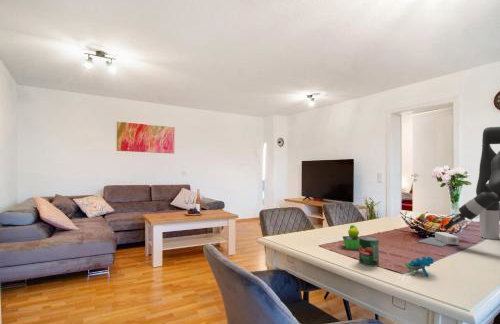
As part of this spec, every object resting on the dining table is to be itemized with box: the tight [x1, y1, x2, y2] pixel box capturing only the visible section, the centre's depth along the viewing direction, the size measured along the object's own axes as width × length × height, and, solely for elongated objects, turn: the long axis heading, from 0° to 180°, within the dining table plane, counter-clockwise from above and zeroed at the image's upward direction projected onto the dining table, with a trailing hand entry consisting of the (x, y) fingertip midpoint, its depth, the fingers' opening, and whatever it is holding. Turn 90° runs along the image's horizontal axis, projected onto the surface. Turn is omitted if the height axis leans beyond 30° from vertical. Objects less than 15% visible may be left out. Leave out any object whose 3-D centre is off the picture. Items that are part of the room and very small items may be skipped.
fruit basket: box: [341, 224, 360, 251], centre depth 143 cm, size 11×9×11 cm
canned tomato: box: [358, 235, 380, 267], centre depth 119 cm, size 8×8×11 cm
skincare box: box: [434, 231, 460, 246], centre depth 155 cm, size 6×4×12 cm
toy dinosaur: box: [404, 256, 435, 277], centre depth 107 cm, size 11×6×10 cm
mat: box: [417, 236, 449, 248], centre depth 156 cm, size 18×12×1 cm, turn 125°
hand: (445, 228), depth 152 cm, fingers closed
